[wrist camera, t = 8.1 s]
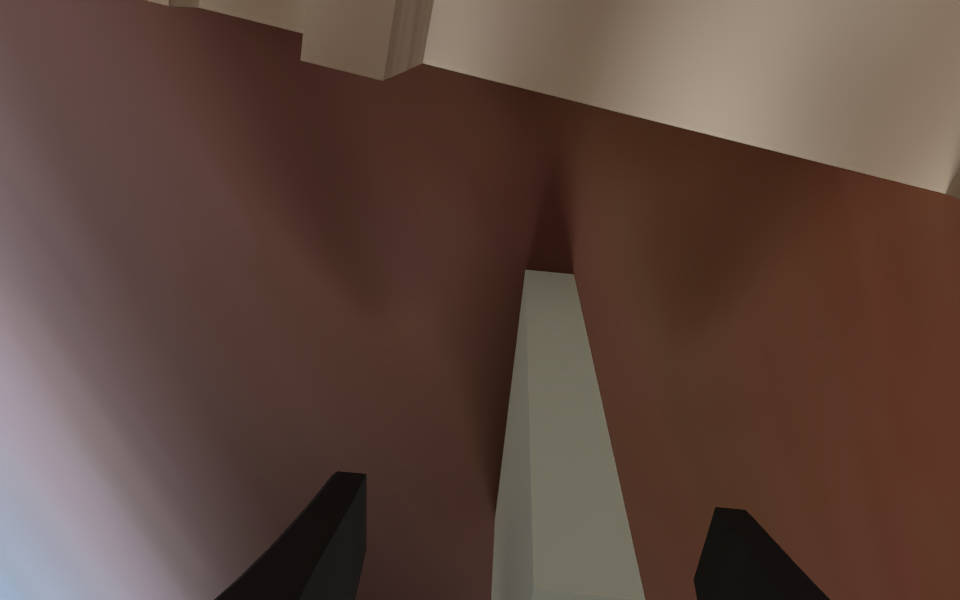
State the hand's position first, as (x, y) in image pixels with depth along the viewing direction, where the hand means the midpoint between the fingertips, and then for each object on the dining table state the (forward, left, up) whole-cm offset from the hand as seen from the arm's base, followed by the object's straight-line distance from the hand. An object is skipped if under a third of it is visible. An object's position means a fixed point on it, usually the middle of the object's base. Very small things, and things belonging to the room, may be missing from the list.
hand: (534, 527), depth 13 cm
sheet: (0, 0, -4) cm, 4 cm away
